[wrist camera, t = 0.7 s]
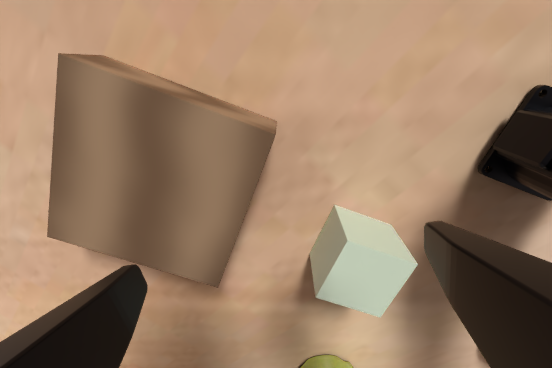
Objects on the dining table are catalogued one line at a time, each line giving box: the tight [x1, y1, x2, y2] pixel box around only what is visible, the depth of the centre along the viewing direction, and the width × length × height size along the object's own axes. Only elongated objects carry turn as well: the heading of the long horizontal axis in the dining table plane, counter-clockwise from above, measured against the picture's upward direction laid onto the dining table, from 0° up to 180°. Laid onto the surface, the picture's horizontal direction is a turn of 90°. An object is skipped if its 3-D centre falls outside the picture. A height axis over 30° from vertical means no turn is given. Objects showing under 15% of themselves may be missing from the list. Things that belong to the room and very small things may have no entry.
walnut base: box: [47, 53, 277, 288], centre depth 19 cm, size 12×12×4 cm
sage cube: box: [310, 205, 418, 317], centre depth 21 cm, size 5×5×5 cm
